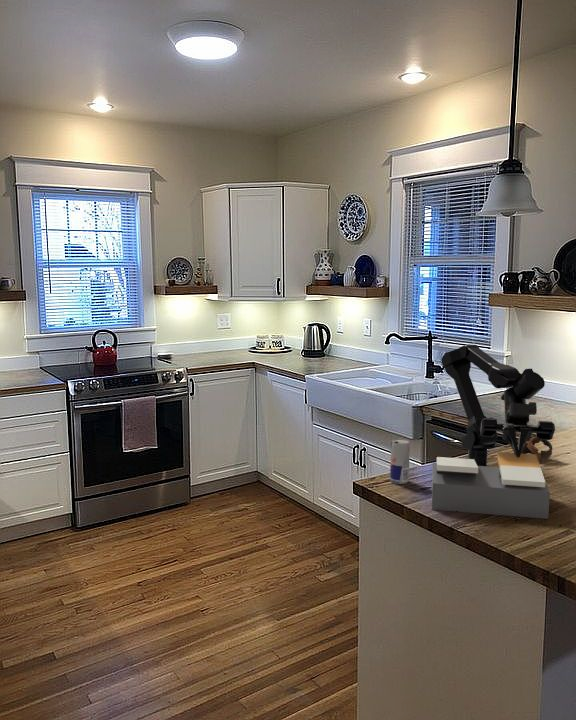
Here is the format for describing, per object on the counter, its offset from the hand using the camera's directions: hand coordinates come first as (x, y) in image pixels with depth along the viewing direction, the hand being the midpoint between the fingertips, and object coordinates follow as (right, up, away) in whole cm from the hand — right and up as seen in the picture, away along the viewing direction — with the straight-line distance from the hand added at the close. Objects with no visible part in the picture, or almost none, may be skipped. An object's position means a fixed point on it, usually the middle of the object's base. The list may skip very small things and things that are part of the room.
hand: (518, 456), depth 170 cm
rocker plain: (-17, -2, 0) cm, 17 cm away
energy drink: (-29, -10, +16) cm, 34 cm away
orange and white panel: (-1, -3, -4) cm, 5 cm away
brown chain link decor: (+18, -7, +38) cm, 43 cm away
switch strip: (-9, -12, -1) cm, 15 cm away
